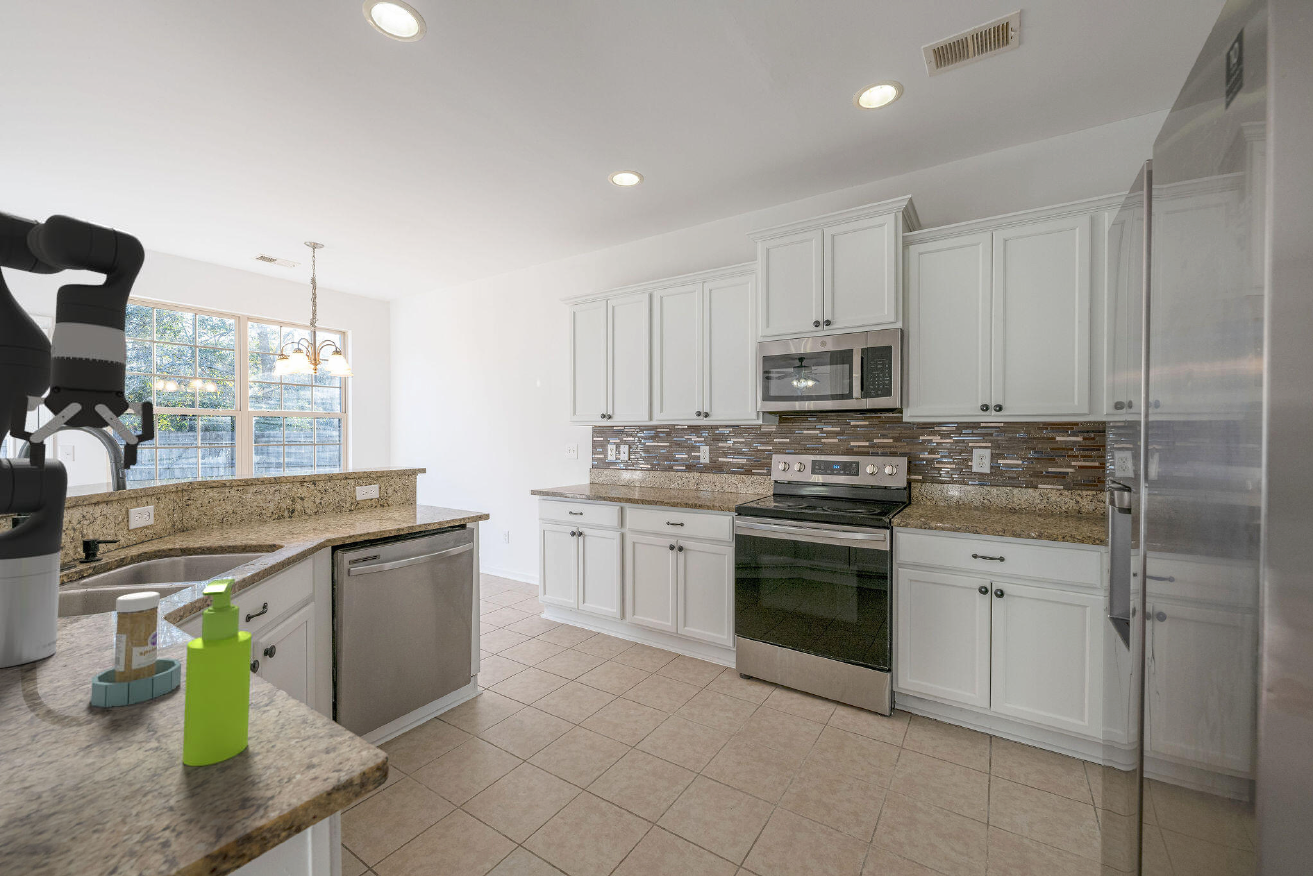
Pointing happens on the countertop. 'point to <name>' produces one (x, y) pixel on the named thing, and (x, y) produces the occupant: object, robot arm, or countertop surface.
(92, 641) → the countertop surface
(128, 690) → the teal bowl
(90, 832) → the countertop surface
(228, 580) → the soap dispenser
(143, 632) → the sprinkles bottle
